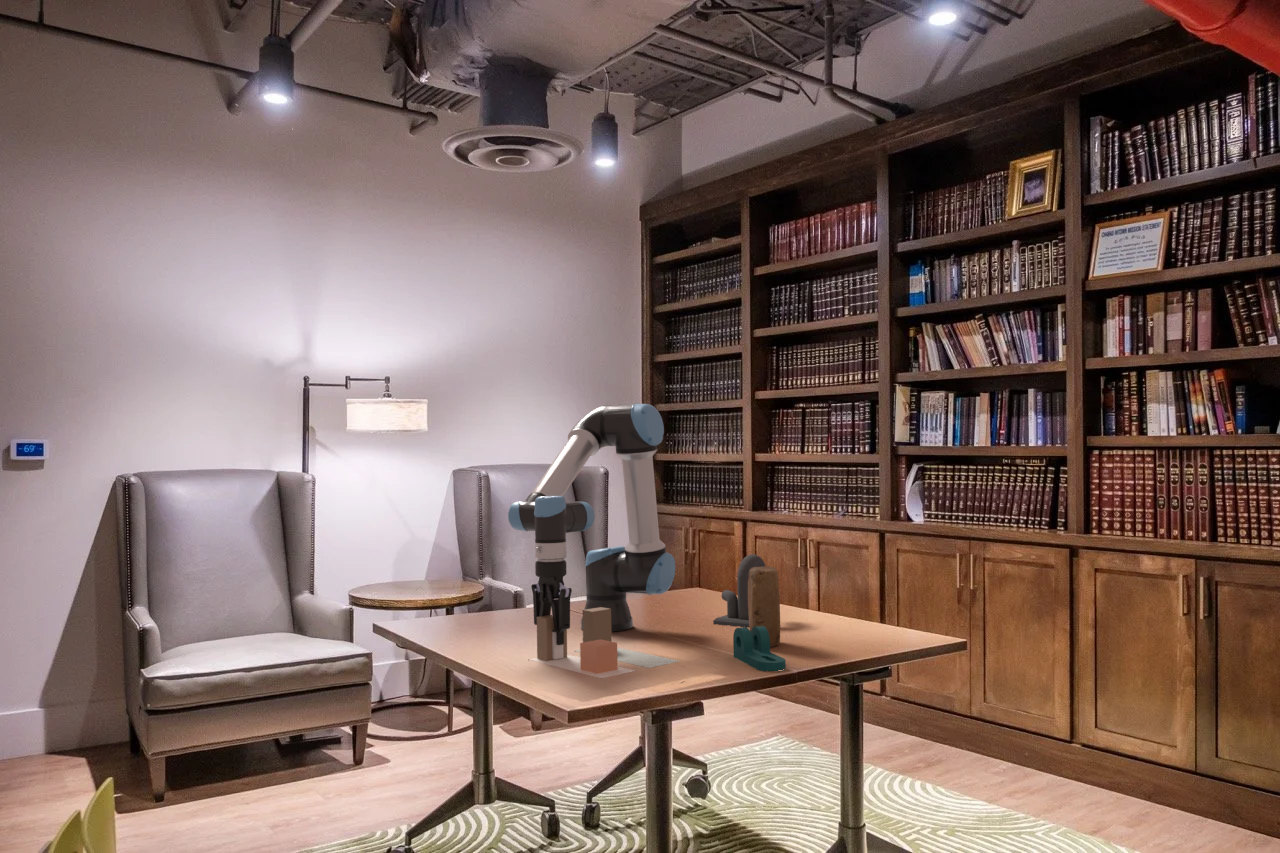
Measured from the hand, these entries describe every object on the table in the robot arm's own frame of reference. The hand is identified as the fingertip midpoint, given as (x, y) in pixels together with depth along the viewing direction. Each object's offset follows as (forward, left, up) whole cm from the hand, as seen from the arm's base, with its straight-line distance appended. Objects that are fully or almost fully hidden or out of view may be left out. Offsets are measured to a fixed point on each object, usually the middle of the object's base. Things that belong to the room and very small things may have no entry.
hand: (552, 656), depth 233 cm
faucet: (-3, +75, -2) cm, 75 cm away
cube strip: (+11, 0, -2) cm, 11 cm away
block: (+21, +53, -2) cm, 57 cm away
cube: (+18, 0, 0) cm, 18 cm away
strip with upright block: (+11, +14, -2) cm, 18 cm away
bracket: (+36, +35, -2) cm, 50 cm away
